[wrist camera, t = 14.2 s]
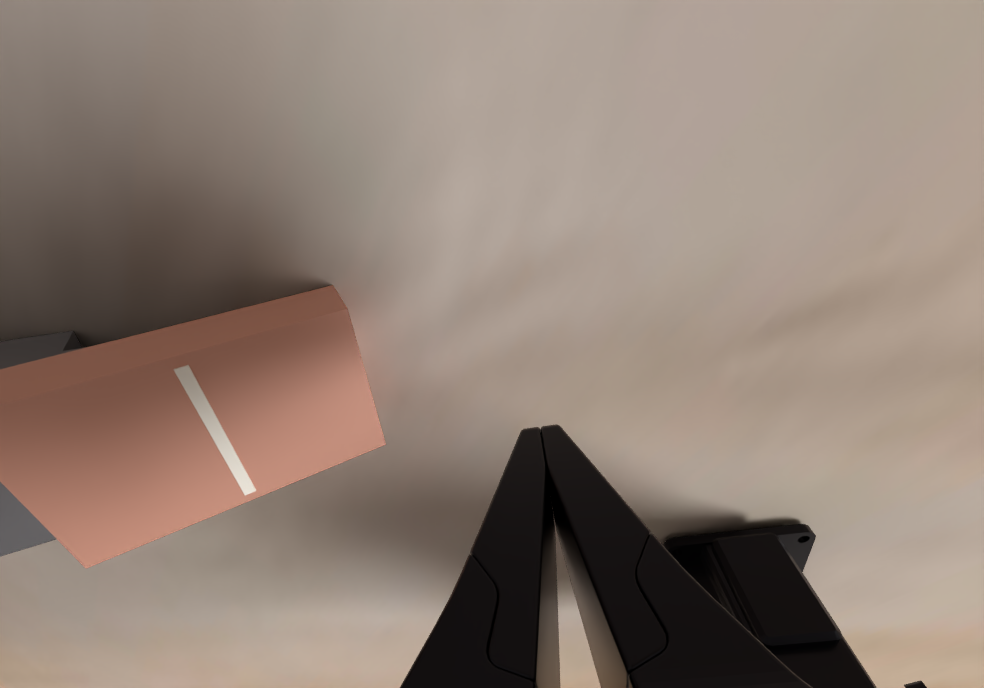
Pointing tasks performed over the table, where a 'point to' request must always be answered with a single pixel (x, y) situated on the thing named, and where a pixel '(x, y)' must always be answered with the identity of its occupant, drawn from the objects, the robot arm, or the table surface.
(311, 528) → the table surface
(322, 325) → the domino
